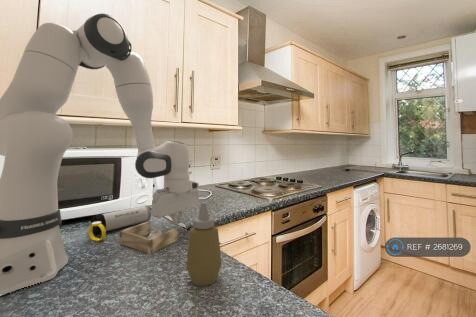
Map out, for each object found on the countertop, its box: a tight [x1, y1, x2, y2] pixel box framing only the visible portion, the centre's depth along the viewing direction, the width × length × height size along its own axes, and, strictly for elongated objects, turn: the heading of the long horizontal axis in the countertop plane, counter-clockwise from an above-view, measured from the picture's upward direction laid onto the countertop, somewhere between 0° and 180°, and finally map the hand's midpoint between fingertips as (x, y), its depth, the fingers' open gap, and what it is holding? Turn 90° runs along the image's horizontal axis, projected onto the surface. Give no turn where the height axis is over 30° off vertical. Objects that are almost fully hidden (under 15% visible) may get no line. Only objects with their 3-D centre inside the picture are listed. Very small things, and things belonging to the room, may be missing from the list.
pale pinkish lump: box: [147, 229, 163, 238], centre depth 76 cm, size 5×3×5 cm
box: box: [119, 220, 179, 255], centre depth 75 cm, size 11×14×4 cm
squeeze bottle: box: [186, 202, 222, 287], centre depth 54 cm, size 8×8×18 cm
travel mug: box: [90, 205, 152, 236], centre depth 87 cm, size 6×7×20 cm
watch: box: [87, 221, 107, 242], centre depth 76 cm, size 6×3×6 cm, turn 73°
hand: (177, 223), depth 85 cm, fingers closed
